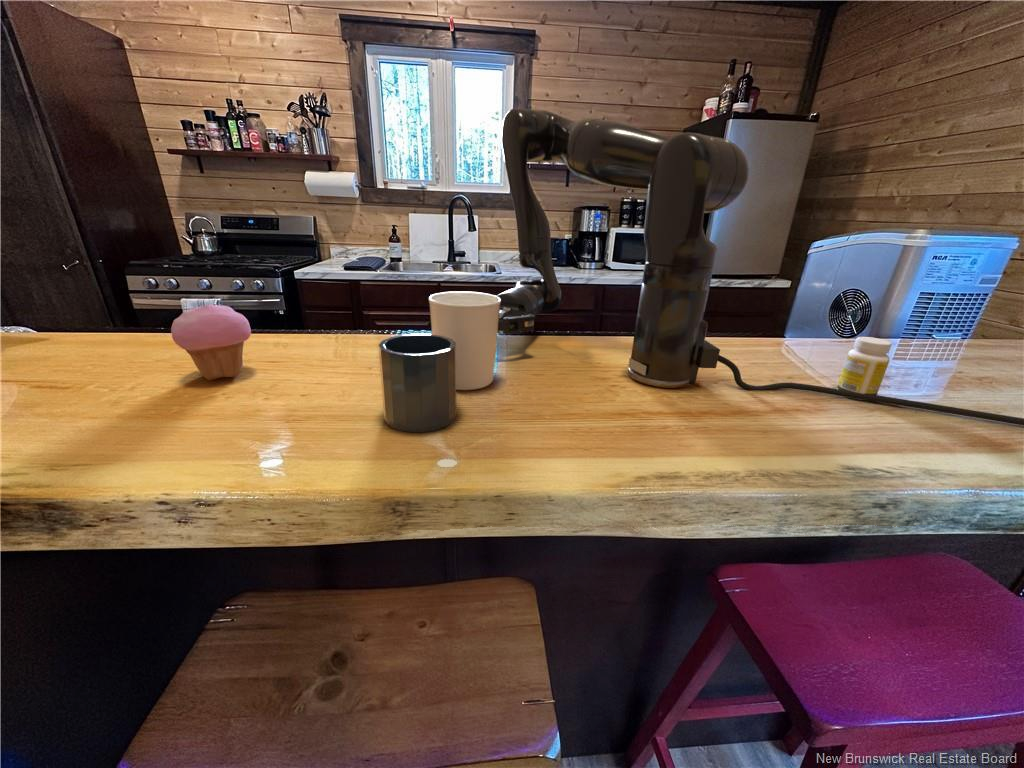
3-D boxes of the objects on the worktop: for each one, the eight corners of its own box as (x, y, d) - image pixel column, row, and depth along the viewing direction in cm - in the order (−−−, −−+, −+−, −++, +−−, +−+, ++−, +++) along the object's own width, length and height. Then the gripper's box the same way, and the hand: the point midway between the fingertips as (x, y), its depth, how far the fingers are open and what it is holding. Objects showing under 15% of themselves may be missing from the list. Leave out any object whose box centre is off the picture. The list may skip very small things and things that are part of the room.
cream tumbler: (502, 370, 68) (504, 293, 63) (493, 395, 59) (495, 307, 54) (440, 366, 69) (438, 289, 64) (422, 389, 60) (419, 302, 55)
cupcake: (255, 362, 67) (243, 297, 63) (261, 380, 60) (248, 309, 56) (184, 371, 62) (166, 301, 58) (182, 392, 56) (162, 315, 52)
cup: (458, 402, 56) (458, 334, 53) (452, 433, 48) (452, 356, 45) (393, 400, 56) (388, 332, 53) (376, 431, 48) (370, 354, 45)
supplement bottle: (870, 392, 66) (890, 339, 63) (879, 403, 62) (901, 347, 59) (832, 386, 68) (850, 334, 64) (839, 397, 64) (858, 341, 60)
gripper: (482, 286, 82) (440, 302, 67) (549, 292, 79) (522, 311, 63) (481, 324, 85) (441, 348, 70) (547, 333, 81) (519, 359, 66)
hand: (479, 330), depth 67 cm, fingers closed
